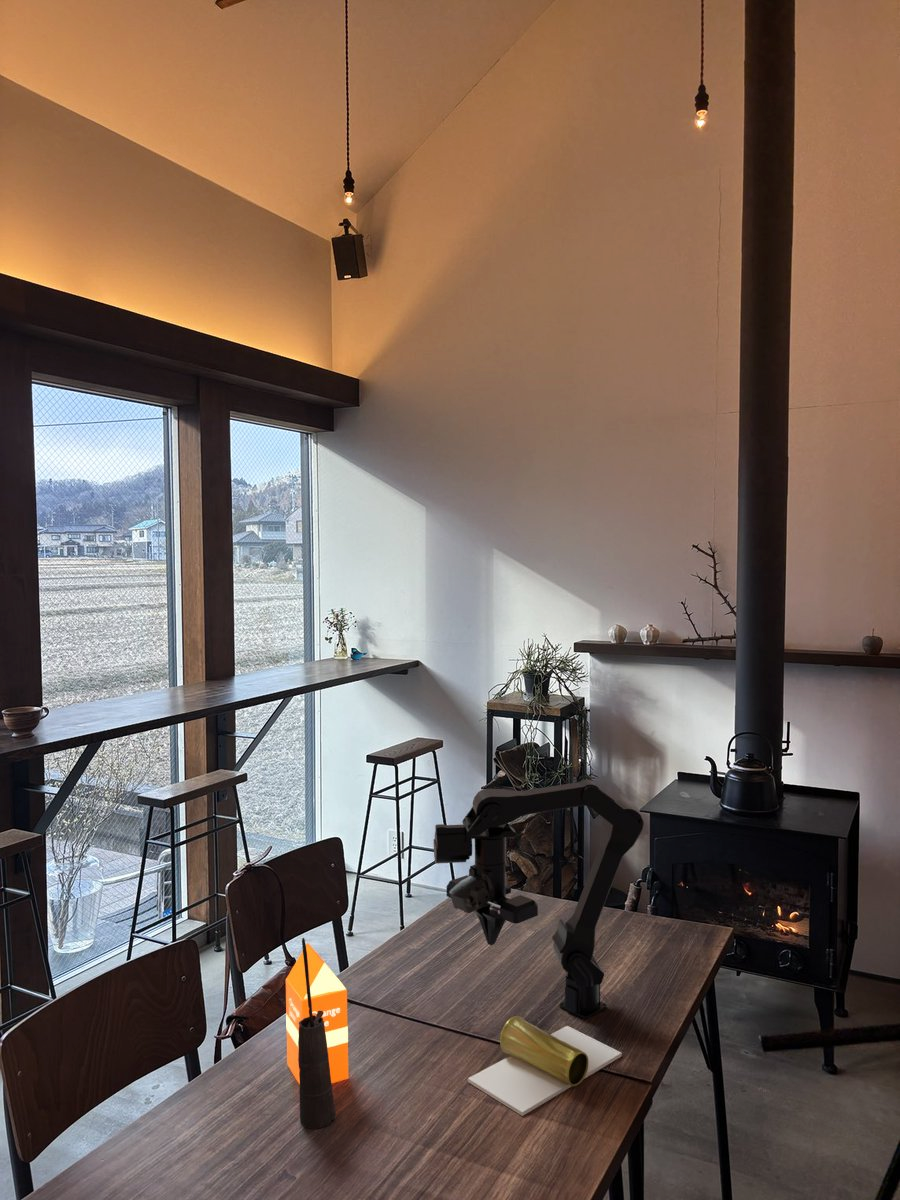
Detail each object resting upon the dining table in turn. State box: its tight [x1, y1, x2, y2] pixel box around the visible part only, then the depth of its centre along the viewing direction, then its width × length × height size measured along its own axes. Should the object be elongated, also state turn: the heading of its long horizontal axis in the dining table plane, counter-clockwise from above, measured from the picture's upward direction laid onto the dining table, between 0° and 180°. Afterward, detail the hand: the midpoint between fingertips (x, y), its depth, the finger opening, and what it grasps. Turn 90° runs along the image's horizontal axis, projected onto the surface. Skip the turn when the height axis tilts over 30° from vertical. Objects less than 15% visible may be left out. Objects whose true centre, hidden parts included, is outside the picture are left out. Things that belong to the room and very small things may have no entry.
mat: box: [467, 1025, 623, 1117], centre depth 145 cm, size 24×12×1 cm, turn 132°
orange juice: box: [285, 942, 349, 1085], centre depth 145 cm, size 8×9×20 cm
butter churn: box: [298, 937, 336, 1130], centre depth 134 cm, size 9×10×28 cm
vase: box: [499, 1015, 589, 1087], centre depth 145 cm, size 6×6×14 cm
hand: (491, 944), depth 163 cm, fingers closed
